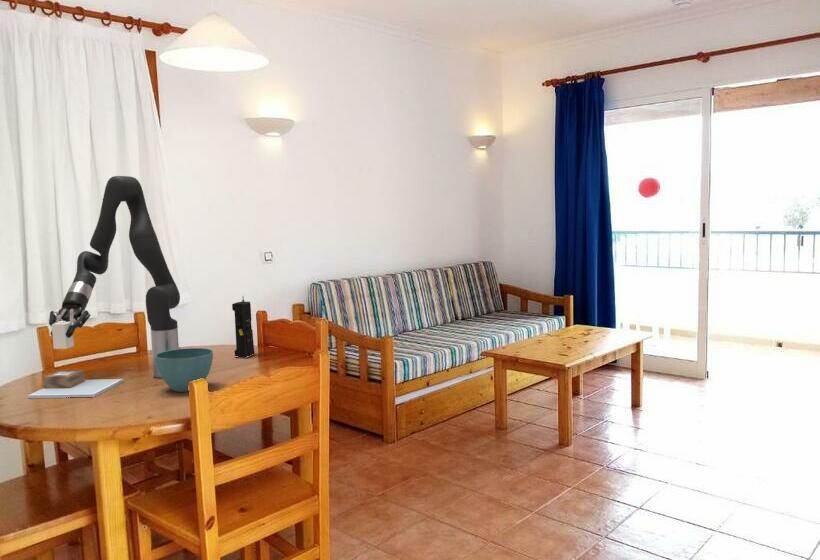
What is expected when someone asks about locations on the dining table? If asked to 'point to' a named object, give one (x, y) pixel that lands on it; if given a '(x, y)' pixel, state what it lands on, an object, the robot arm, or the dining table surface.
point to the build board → (79, 389)
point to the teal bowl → (184, 366)
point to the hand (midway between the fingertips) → (60, 336)
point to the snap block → (61, 335)
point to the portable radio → (243, 329)
